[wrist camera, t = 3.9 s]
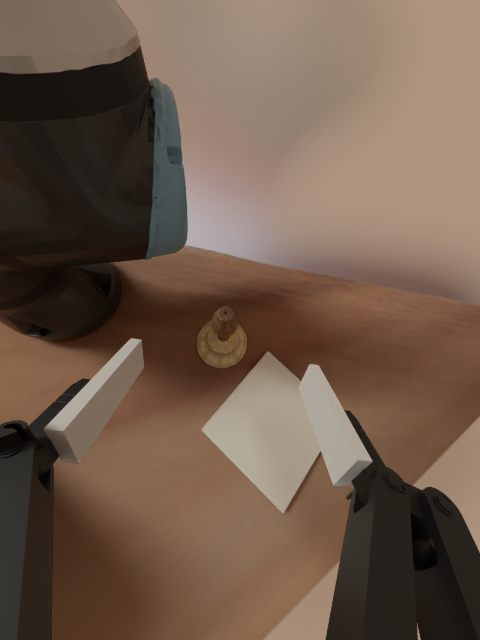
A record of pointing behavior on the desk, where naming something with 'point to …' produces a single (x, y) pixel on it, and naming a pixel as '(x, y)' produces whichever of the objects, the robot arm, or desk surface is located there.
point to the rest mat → (267, 431)
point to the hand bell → (222, 339)
